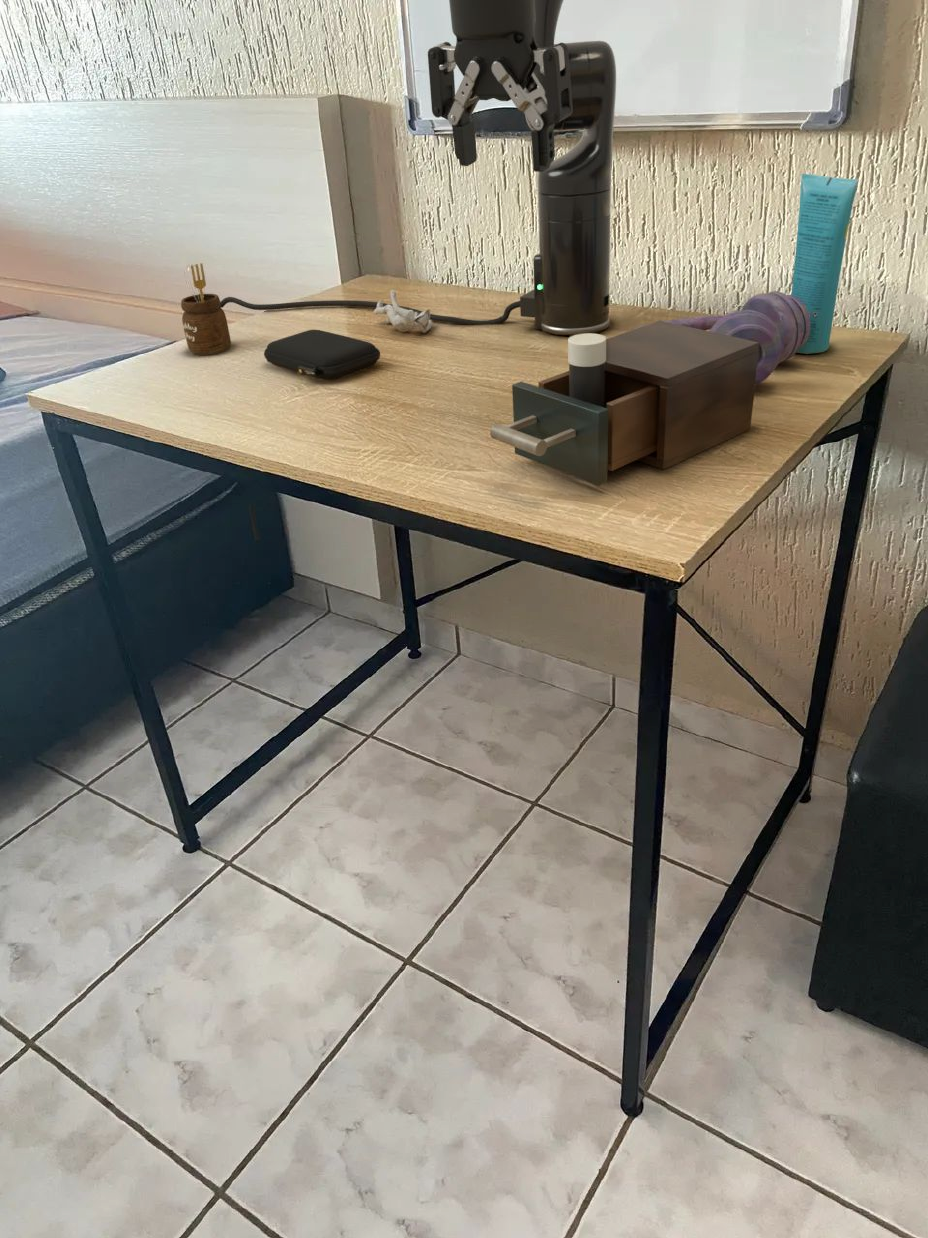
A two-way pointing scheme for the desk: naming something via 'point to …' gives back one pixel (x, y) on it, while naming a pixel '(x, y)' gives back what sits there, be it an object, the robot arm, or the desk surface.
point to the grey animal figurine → (404, 316)
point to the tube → (821, 251)
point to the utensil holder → (204, 320)
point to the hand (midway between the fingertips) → (504, 166)
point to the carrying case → (322, 354)
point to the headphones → (762, 327)
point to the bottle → (587, 367)
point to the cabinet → (689, 384)
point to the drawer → (583, 426)
